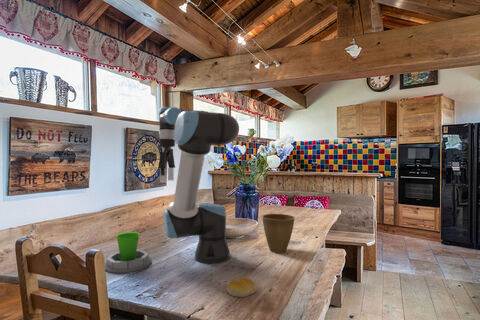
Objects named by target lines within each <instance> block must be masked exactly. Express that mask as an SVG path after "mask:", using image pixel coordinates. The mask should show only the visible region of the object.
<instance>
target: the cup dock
mask: <svg viewBox="0 0 480 320" xmlns="http://www.w3.org/2000/svg"><path fill="white" fill-rule="evenodd" d="M151 264H152V258H151V257H150V253H149V252H147V251H145V250H142V249H137V251H136V257H135V260H131V261H121V258H120V252H119V251H118V252H113V253H112V254H110V255H109V256H107V257H106V261H105V268H106V272H107V273H112V274H127V273H129V274H130V273H134V272H138V271H141V270H144V269H146V268H148V267H149V266H150V265H151Z"/></svg>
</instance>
